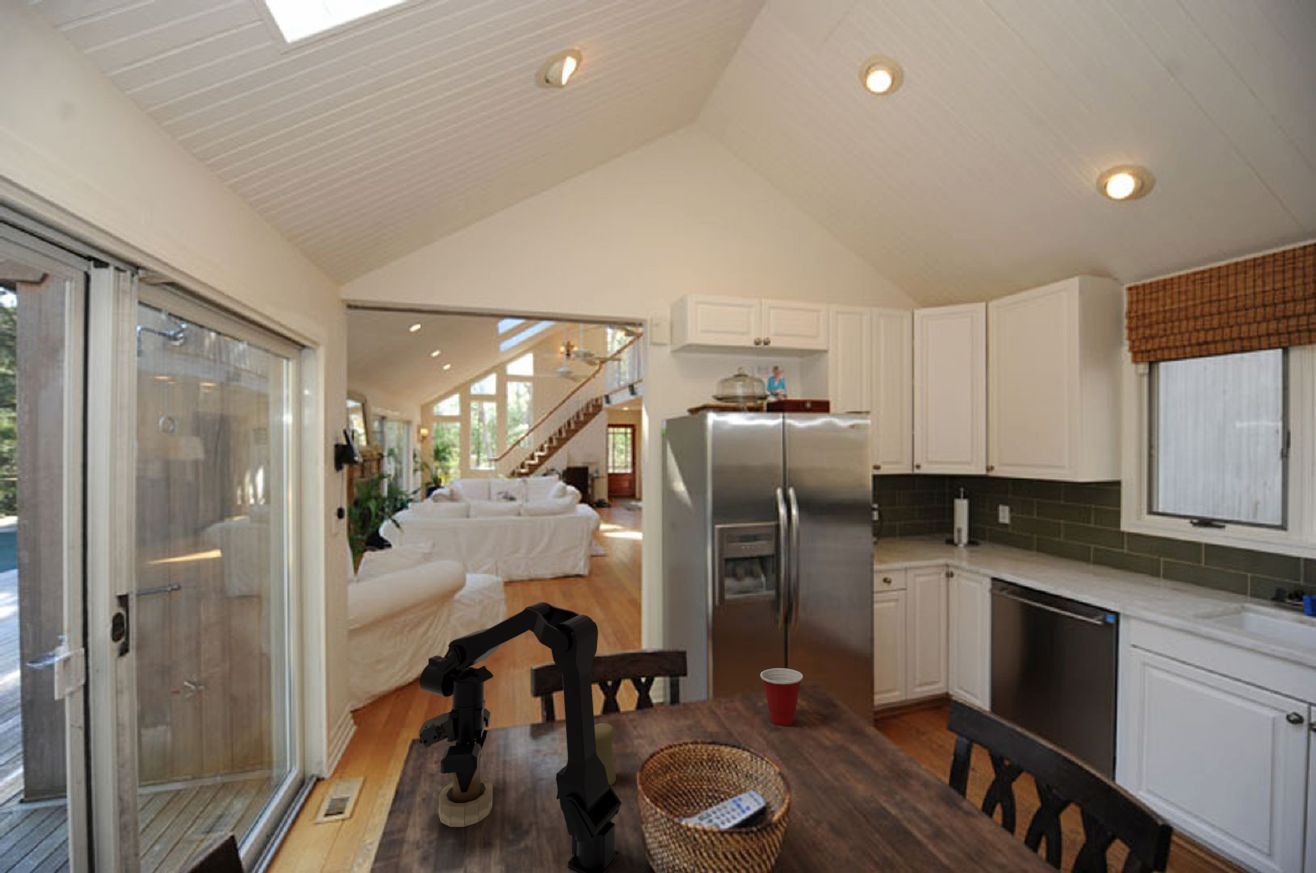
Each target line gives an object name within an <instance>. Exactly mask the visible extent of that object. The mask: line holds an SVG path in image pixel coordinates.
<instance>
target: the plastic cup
mask: <svg viewBox="0 0 1316 873" xmlns="http://www.w3.org/2000/svg"><path fill="white" fill-rule="evenodd" d="M759 676H760V678H761V681H763V682H762V683H763V686H764V690H765V697H766V702H767V703H766V704H767V707H768V713H769V718H770V721H771V723H773V724H775V725H777V726H781V727H789V726H792V724H794V721H795V714H796V711H797V704H798V697H799V690H800V686H801V683H802V680H803V678H804V676H803V673H801V672H800V671H797V670H795V669H790V668H784V667H783V668H782V667H781V668H780V667H776V668H770V669H765V670H763V671H761V672H760V675H759Z"/></svg>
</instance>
